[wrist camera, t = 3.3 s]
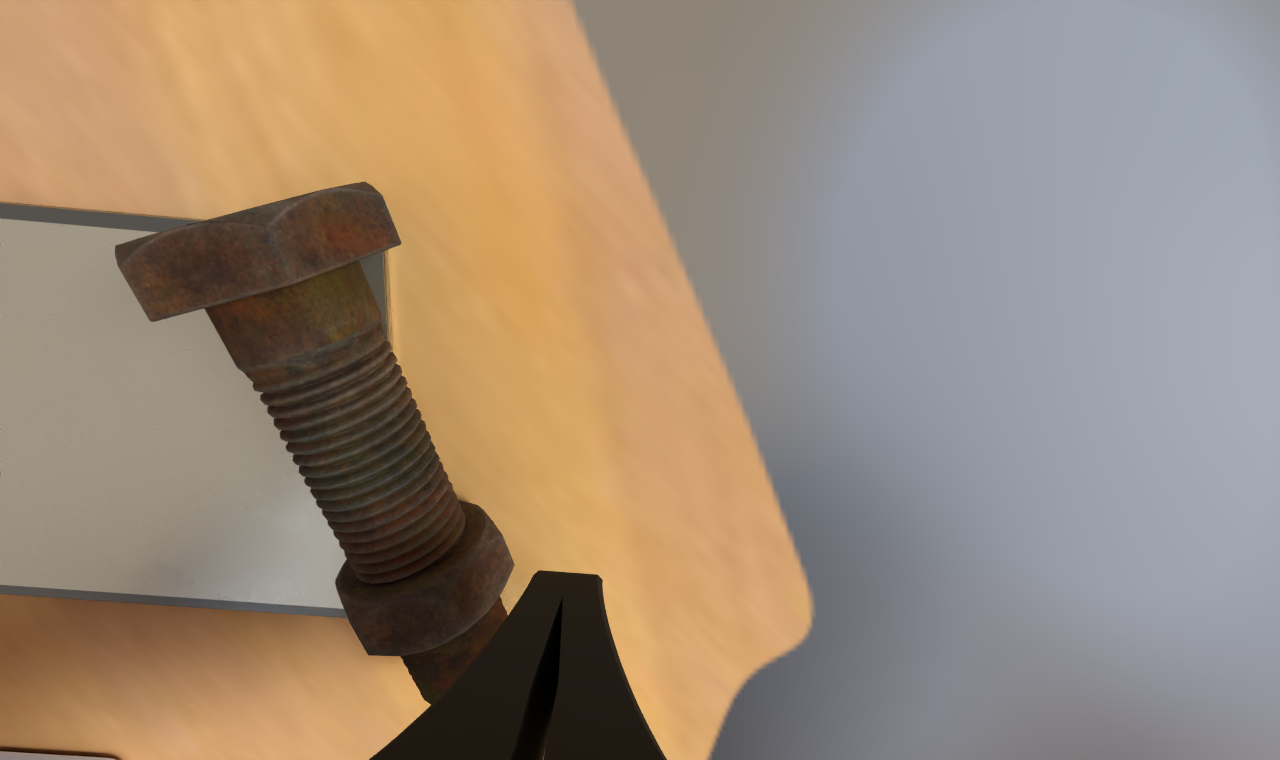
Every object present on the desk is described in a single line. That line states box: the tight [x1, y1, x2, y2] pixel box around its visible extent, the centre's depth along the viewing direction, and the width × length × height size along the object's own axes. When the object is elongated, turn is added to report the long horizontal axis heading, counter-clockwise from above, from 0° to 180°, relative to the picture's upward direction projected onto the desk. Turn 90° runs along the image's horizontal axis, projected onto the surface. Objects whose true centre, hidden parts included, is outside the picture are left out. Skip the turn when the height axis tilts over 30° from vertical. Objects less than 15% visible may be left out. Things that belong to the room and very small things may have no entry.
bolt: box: [115, 182, 514, 705], centre depth 16 cm, size 6×5×15 cm
